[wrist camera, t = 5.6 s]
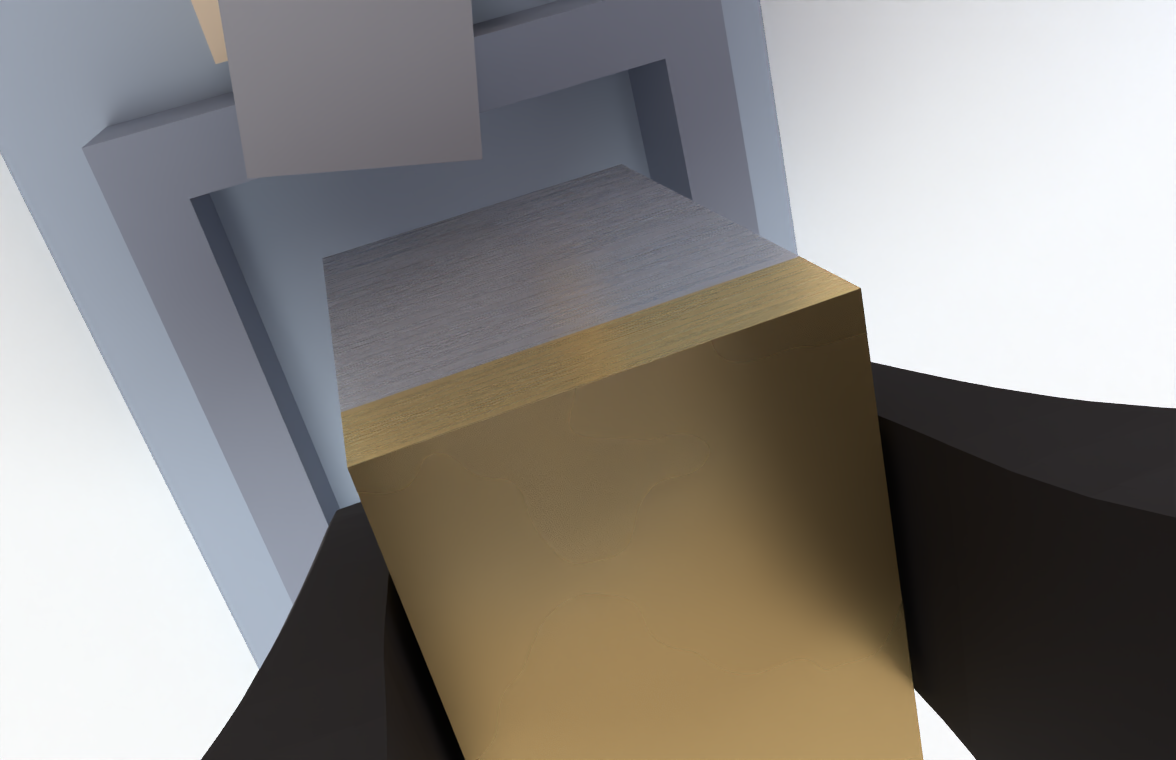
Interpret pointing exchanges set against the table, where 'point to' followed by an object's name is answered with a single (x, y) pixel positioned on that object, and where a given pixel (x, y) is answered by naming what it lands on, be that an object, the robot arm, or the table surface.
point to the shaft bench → (331, 198)
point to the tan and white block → (627, 480)
